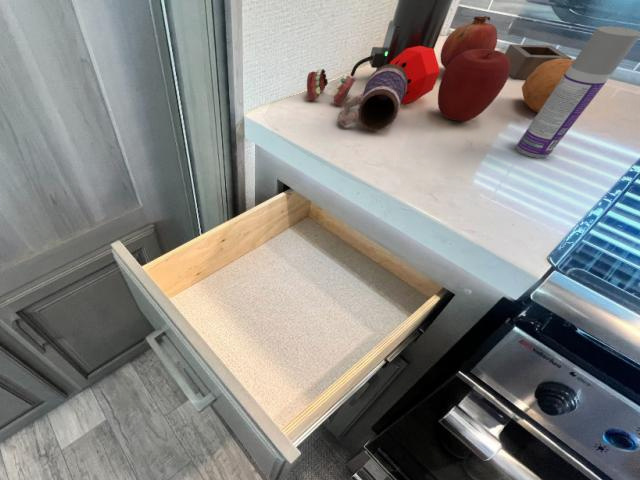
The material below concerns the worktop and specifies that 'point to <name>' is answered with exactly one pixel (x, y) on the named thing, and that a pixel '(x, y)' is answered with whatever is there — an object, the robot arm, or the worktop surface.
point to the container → (577, 89)
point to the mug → (378, 99)
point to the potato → (544, 82)
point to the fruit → (469, 39)
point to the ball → (418, 71)
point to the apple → (472, 83)
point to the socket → (530, 58)
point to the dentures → (319, 81)
